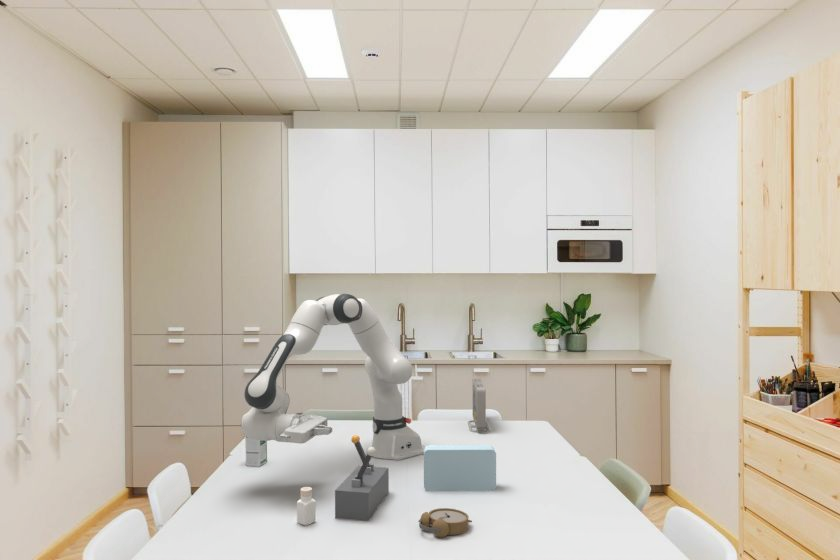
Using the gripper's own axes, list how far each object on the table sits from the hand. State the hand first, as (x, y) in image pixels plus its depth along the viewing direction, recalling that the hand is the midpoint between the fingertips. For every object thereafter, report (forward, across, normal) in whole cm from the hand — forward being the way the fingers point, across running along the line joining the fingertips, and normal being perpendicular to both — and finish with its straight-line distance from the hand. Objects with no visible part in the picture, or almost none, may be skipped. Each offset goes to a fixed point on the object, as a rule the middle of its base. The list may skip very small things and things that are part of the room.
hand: (330, 430), depth 185 cm
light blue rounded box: (+39, +15, +20) cm, 46 cm away
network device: (+37, +92, +19) cm, 101 cm away
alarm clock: (+39, -17, +21) cm, 47 cm away
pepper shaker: (+1, -20, +21) cm, 29 cm away
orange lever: (+12, 0, +11) cm, 17 cm away
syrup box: (-38, +23, +21) cm, 49 cm away
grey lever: (+12, -11, +11) cm, 20 cm away
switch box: (+12, -5, +20) cm, 24 cm away
